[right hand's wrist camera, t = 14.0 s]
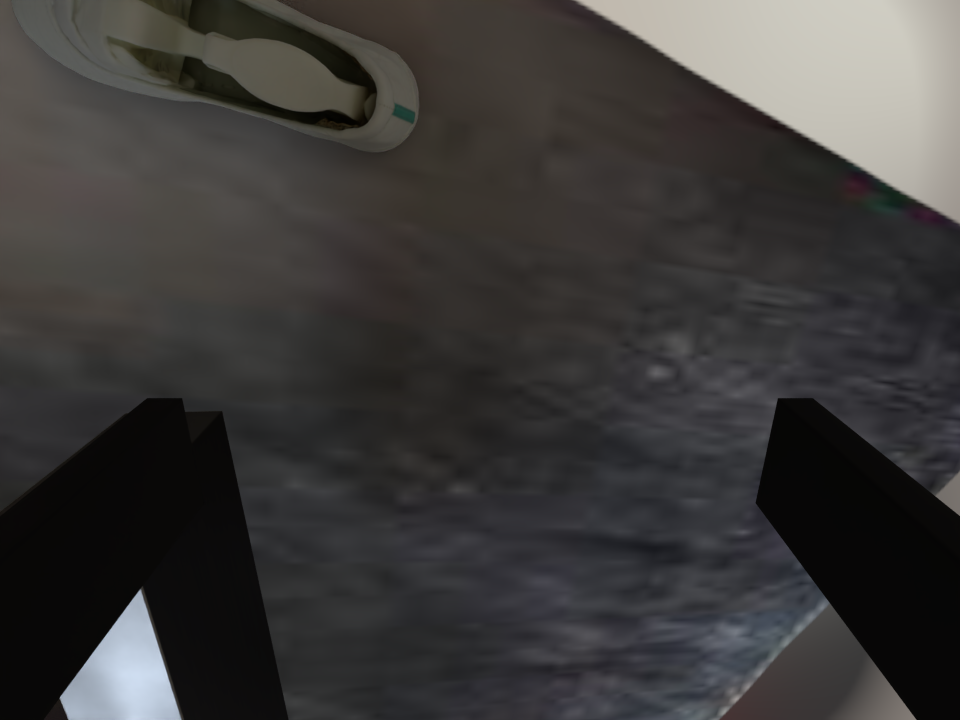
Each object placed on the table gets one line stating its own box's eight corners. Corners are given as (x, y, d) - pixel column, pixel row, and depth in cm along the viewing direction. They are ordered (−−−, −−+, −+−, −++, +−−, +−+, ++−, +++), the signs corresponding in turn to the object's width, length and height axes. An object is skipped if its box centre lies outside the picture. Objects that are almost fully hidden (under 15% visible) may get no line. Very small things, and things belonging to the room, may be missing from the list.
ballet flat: (31, -100, 33) (-98, -167, 26) (440, 42, 36) (430, 19, 28) (28, 57, 36) (-88, 38, 29) (406, 177, 39) (389, 188, 31)
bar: (125, 412, 29) (-16, 522, 21) (222, 410, 29) (120, 519, 21) (224, 761, 39) (154, 930, 31) (297, 759, 39) (248, 928, 31)
